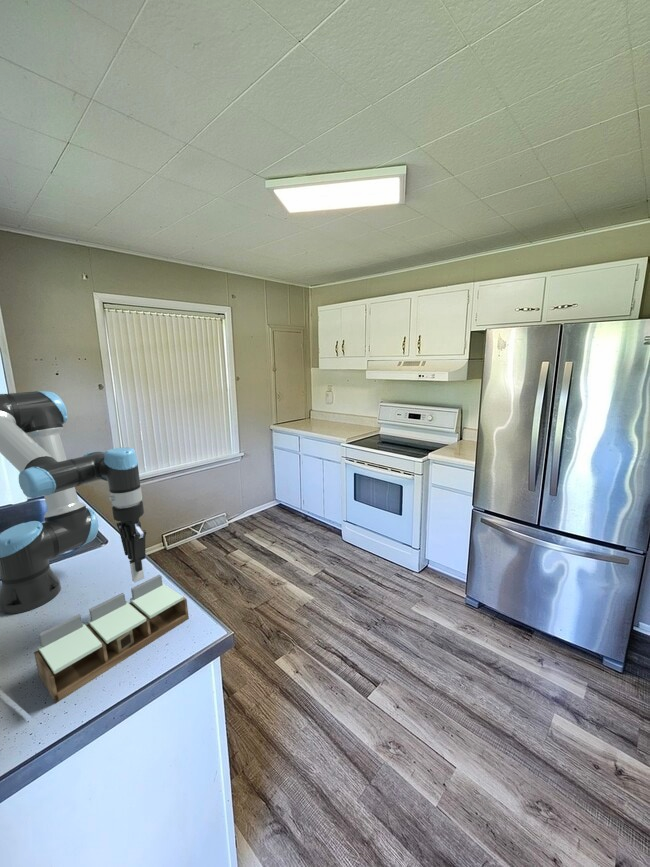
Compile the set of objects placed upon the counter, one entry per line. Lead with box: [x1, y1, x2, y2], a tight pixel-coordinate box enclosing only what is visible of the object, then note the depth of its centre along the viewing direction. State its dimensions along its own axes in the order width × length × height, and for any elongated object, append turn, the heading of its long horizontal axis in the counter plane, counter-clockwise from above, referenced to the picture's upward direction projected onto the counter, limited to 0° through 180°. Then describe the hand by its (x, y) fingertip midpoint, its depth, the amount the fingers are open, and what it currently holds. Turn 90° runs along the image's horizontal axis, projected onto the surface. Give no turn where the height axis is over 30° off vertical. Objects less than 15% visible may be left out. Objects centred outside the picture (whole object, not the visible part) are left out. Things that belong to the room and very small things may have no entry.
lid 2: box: [87, 592, 146, 644], centre depth 89 cm, size 11×9×4 cm
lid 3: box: [129, 574, 184, 619], centre depth 97 cm, size 11×9×4 cm
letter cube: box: [109, 630, 134, 653], centre depth 90 cm, size 4×4×4 cm
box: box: [33, 588, 190, 704], centre depth 90 cm, size 12×31×7 cm, turn 142°
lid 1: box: [37, 613, 102, 674], centre depth 81 cm, size 11×9×4 cm
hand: (138, 579), depth 103 cm, fingers closed
